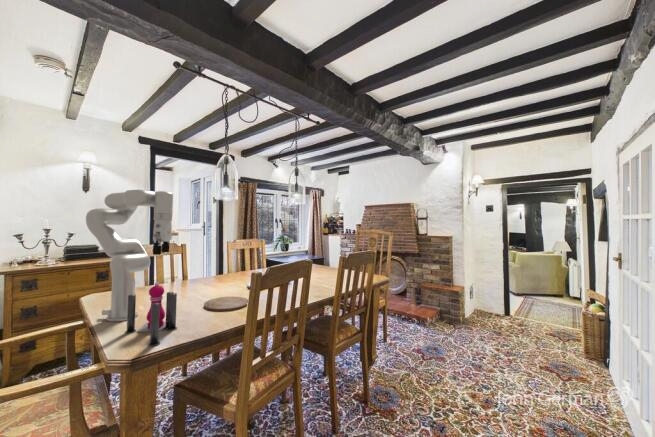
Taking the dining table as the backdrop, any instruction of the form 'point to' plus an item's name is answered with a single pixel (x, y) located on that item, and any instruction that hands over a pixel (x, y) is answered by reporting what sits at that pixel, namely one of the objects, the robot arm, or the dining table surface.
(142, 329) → the slate coaster
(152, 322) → the gate course
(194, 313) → the dining table surface
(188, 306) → the dining table surface
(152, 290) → the pepper mill
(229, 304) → the trivet
